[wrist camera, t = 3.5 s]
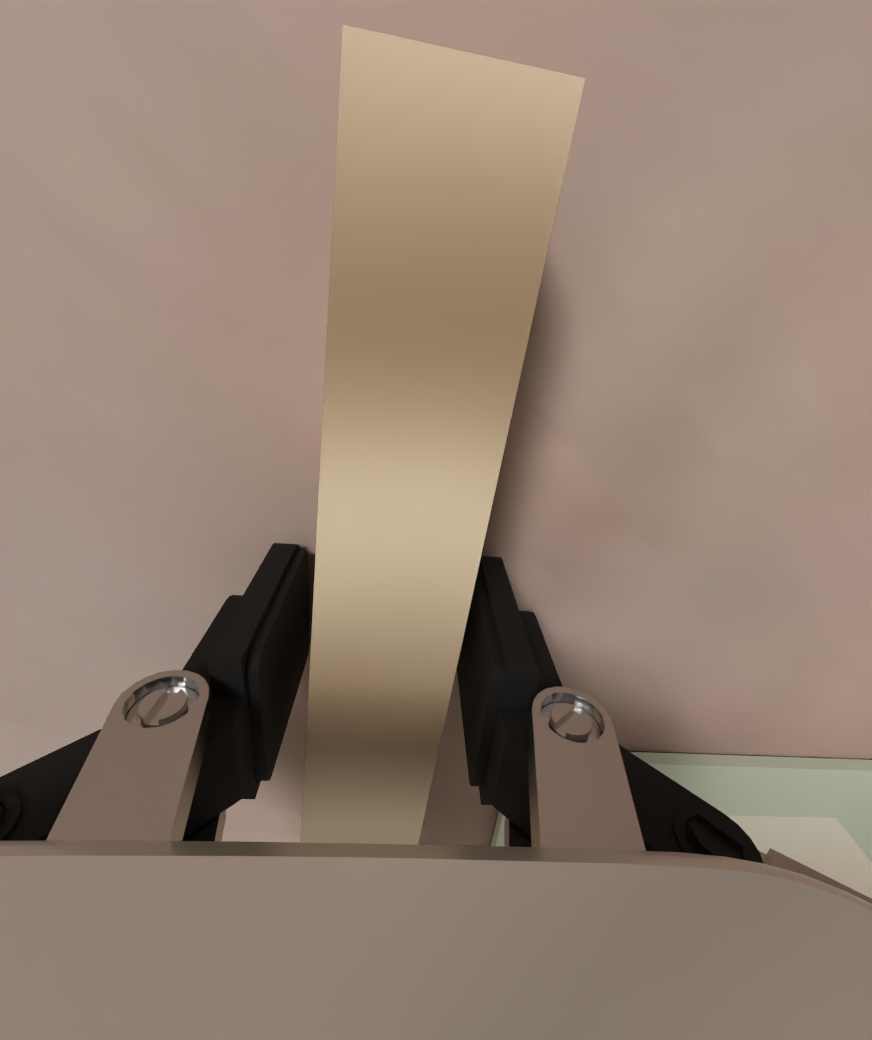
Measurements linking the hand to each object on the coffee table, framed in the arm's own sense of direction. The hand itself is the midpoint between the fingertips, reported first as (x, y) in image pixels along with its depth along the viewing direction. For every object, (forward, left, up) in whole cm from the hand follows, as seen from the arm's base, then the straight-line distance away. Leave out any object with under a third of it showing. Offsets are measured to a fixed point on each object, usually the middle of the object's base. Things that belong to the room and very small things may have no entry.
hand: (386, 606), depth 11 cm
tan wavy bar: (0, 0, -1) cm, 1 cm away
